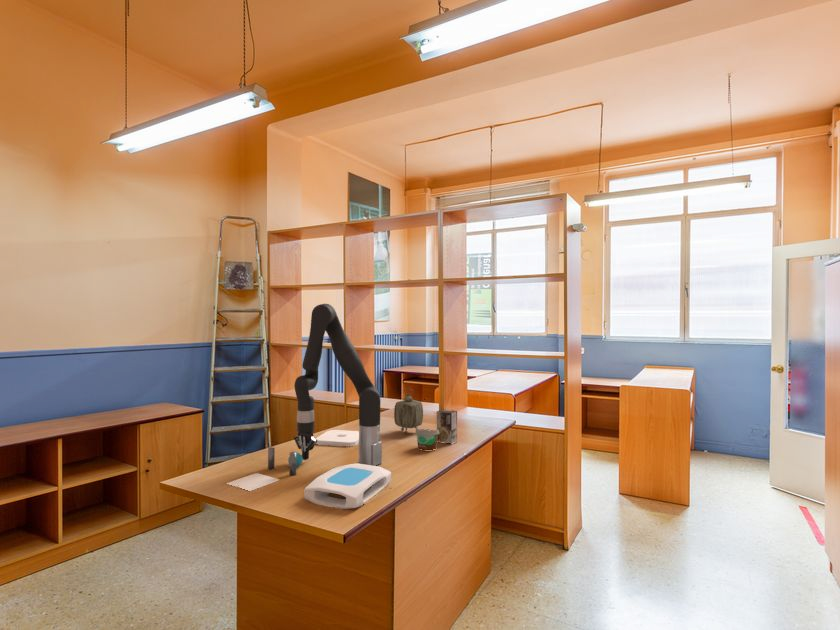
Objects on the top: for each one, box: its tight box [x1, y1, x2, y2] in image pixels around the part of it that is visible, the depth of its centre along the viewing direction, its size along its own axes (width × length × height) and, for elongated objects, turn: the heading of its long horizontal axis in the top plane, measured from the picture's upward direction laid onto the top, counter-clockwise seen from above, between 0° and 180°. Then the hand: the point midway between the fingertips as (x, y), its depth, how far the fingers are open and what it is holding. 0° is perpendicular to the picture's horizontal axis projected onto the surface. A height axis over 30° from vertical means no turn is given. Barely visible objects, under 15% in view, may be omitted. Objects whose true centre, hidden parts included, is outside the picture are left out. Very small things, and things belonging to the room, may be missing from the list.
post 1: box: [267, 446, 276, 471], centre depth 191 cm, size 3×3×9 cm
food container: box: [415, 427, 440, 450], centre depth 219 cm, size 12×6×10 cm, turn 68°
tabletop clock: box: [393, 387, 424, 435], centre depth 251 cm, size 14×9×25 cm, turn 58°
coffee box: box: [436, 408, 458, 443], centre depth 233 cm, size 9×6×16 cm
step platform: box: [303, 462, 392, 510], centre depth 166 cm, size 21×28×6 cm
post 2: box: [288, 451, 297, 477], centre depth 184 cm, size 3×3×9 cm
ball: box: [287, 451, 304, 468], centre depth 193 cm, size 6×6×6 cm
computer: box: [314, 429, 359, 448], centre depth 236 cm, size 22×22×3 cm
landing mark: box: [225, 472, 280, 492], centre depth 175 cm, size 14×14×1 cm
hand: (305, 459), depth 199 cm, fingers closed
